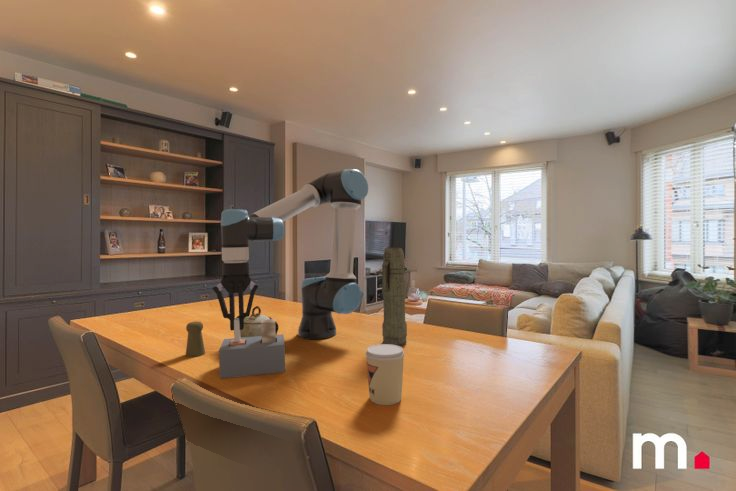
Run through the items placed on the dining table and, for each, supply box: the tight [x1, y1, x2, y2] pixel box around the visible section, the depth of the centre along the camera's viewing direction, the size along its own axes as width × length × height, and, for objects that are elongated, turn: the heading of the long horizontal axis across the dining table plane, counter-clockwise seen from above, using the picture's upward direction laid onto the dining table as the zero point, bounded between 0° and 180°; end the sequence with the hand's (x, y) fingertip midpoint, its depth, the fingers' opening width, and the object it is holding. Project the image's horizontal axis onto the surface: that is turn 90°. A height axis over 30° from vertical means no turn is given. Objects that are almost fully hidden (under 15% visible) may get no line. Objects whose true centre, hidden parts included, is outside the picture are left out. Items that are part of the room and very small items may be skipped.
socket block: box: [218, 334, 286, 380], centre depth 113 cm, size 18×12×8 cm, turn 104°
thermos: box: [381, 246, 408, 347], centre depth 138 cm, size 9×12×35 cm
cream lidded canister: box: [365, 343, 405, 406], centre depth 91 cm, size 9×9×12 cm
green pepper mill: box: [185, 321, 206, 358], centre depth 128 cm, size 6×6×11 cm
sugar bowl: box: [235, 305, 279, 338], centre depth 133 cm, size 20×15×15 cm
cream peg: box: [261, 318, 276, 343], centre depth 114 cm, size 4×4×8 cm
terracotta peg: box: [230, 339, 245, 346], centre depth 112 cm, size 4×4×8 cm
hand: (237, 340), depth 112 cm, fingers closed
